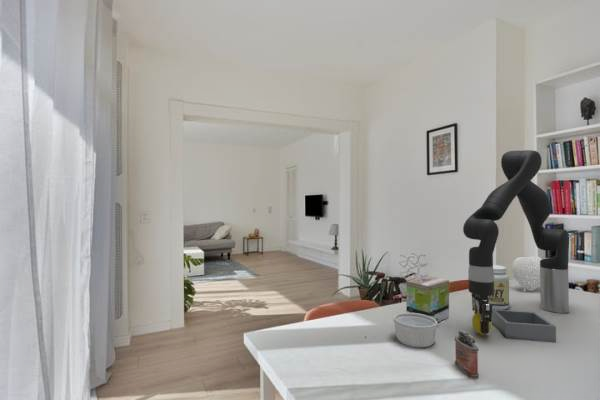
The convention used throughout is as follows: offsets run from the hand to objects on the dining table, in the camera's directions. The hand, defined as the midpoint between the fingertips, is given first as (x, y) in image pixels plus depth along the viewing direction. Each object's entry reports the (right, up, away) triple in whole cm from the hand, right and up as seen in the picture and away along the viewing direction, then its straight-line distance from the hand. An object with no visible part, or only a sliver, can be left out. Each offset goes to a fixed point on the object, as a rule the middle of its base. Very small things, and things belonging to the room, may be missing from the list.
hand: (481, 329), depth 109 cm
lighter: (-17, -2, -23) cm, 28 cm away
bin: (+15, -2, +3) cm, 15 cm away
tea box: (-12, -3, +16) cm, 20 cm away
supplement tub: (+22, -2, +31) cm, 38 cm away
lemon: (0, -2, 0) cm, 2 cm away
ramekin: (-24, -2, -4) cm, 24 cm away
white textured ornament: (+54, -2, +55) cm, 77 cm away
